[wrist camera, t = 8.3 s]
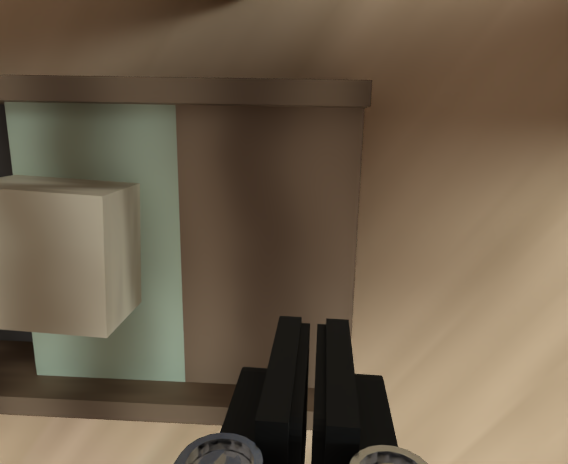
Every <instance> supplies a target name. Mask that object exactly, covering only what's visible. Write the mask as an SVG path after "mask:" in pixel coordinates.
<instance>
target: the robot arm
mask: <svg viewBox="0 0 568 464" xmlns="http://www.w3.org/2000/svg"><path fill="white" fill-rule="evenodd" d="M309 345H310V323H302V317H293V316H280V317H279V320H278V325H277V329H276V333H275V338H274V342H273V346H272V350H271V355H270V359H269V363H268V367H267V368H256V367H242V369H241V372H240V375H239V378H238V381H237V384H236V387H235V390H234V393H233V396H232V399H231V402H230V405H229V408H228V411H227V414H226V417H225V420H224V423H223V425H222V428H221V431H220V433H216V434H210V435H207V436H204V437H201V438H199V439H197V440H195V441H194V442H192V443H191V444H189V445H188V446H187V447H186V448H185V449H184V450H183V451H182V452H181V454H180V455H179V457H178V458H177V460H176V461H175V463H174V464H304V462H305V446H306V429H307V402H308V374H309ZM311 464H428V463H427V462H425V461H424V460H423V459H422V458H421V457H420V456H418V455H416V454H414V453H412V452H410V451H408V450H406V449H403V448H399V447H398V445H397V440H396V436H395V431H394V426H393V422H392V417H391V413H390V408H389V403H388V399H387V394H386V390H385V385H384V380H383V377H382V376H379V375H364V374H355V373H354V364H353V354H352V345H351V336H350V327H349V320H347V319H329V318H326V324H317V342H316V365H315V388H314V411H313V436H312V461H311Z"/></svg>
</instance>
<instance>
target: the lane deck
mask: <svg viewBox="0 0 568 464" xmlns="http://www.w3.org/2000/svg"><path fill="white" fill-rule="evenodd" d="M371 90H372V80H325V79H256V78H187V77H118V76H49V75H0V177H6V176H11V175H28V176H42V177H57V178H71V179H85V180H100V181H114V182H128V183H140V231H141V303H140V304H139V305H138V306H137V307H136V308H135V309H134V310H133V311H132V312H131V313H130V314H129V315H128V316H127V318H126V319H125V320H124V321H123V322H122V323H121V324H120V325H119V326H118V327H117V328H116V329H115V330H114V331H113V332H112V333H111V334H110V336H109V337H108V338H98V337H86V336H74V335H62V334H50V333H38V332H26V331H14V330H2V329H0V414H7V415H27V416H46V417H66V418H85V419H105V420H125V421H144V422H164V423H183V424H203V425H223V423H224V420H225V417H226V414H227V411H228V408H229V405H230V402H231V399H232V396H233V393H234V390H235V387H236V384H237V381H238V378H239V375H240V372H241V369H242V367H256V368H267V367H268V363H269V359H270V355H271V350H272V346H273V342H274V338H275V333H276V329H277V325H278V320H279V317H280V316H293V317H302V323H310V345H309V374H308V402H307V429H306V430H313V411H314V388H315V365H316V342H317V324H326V318H329V319H347V320H349V327H350V336H351V333H352V315H353V298H354V281H355V264H356V246H357V229H358V212H359V194H360V177H361V160H362V143H363V125H364V108H367V107H370V106H371Z"/></svg>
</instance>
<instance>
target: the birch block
mask: <svg viewBox="0 0 568 464" xmlns="http://www.w3.org/2000/svg"><path fill="white" fill-rule="evenodd" d="M140 303H141V231H140V183H128V182H114V181H100V180H85V179H71V178H57V177H42V176H28V175H11V176H6V177H0V329H2V330H14V331H26V332H38V333H50V334H62V335H74V336H86V337H98V338H108V337H109V336H110V334H111V333H112V332H113V331H114V330H115V329H116V328H117V327H118V326H119V325H120V324H121V323H122V322H123V321H124V320H125V319H126V318H127V316H128V315H129V314H130V313H131V312H132V311H133V310H134V309H135V308H136V307H137V306H138V305H139V304H140Z"/></svg>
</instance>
